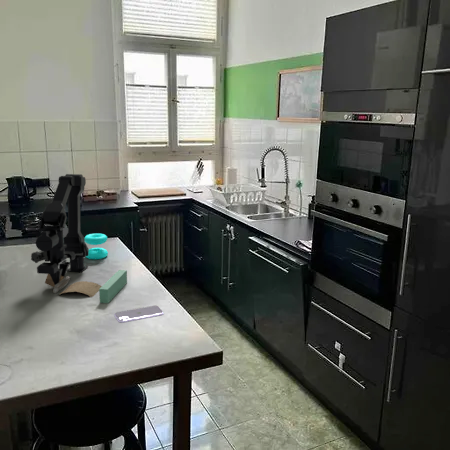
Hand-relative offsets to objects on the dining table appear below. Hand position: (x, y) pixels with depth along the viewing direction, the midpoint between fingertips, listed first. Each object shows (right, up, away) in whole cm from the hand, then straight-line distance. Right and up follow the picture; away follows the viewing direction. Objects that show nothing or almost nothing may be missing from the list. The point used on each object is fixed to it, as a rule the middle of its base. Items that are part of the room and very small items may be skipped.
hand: (58, 283), depth 168 cm
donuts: (+3, +7, +38) cm, 39 cm away
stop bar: (+21, -3, -2) cm, 21 cm away
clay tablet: (+9, -3, -2) cm, 9 cm away
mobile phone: (+34, -8, -20) cm, 40 cm away
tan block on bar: (-2, 0, 0) cm, 2 cm away
